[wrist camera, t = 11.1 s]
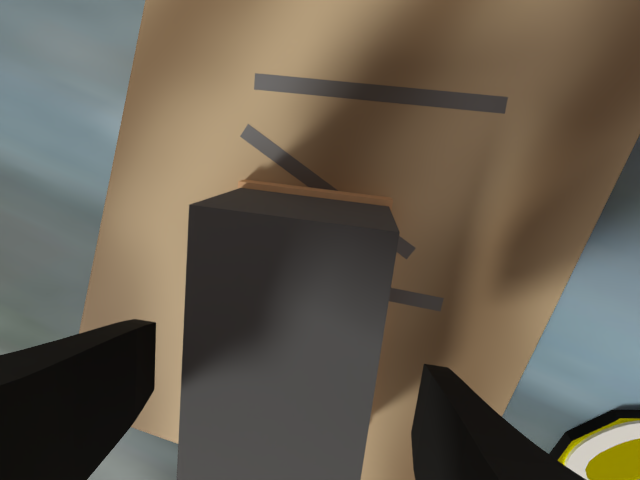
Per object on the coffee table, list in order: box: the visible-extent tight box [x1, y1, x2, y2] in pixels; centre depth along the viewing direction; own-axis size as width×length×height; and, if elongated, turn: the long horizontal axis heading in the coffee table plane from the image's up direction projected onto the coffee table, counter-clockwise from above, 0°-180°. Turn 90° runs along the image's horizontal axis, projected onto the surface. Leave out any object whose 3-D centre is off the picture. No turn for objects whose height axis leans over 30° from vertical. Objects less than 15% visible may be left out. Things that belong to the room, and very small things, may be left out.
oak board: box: [79, 0, 640, 480], centre depth 15 cm, size 16×24×1 cm, turn 162°
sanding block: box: [177, 179, 400, 480], centre depth 13 cm, size 5×9×5 cm, turn 173°
